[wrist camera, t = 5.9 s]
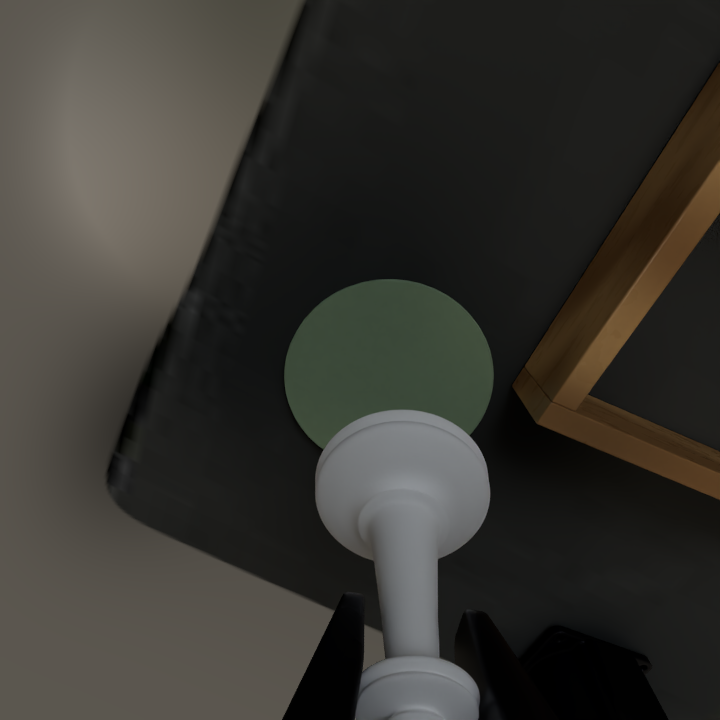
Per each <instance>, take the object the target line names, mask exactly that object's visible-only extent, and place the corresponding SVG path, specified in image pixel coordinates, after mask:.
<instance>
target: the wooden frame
mask: <svg viewBox="0 0 720 720" xmlns="http://www.w3.org/2000/svg"><path fill="white" fill-rule="evenodd" d="M719 213H720V63H719V64H718V66H717V67H716V69H715V70H714V72H713V73H712V75H711V77H710V78H709V80H708V81H707V83H706V84H705V86H704V87H703V89H702V91H701V92H700V94H699V95H698V97H697V98H696V100H695V101H694V103H693V105H692V106H691V108H690V109H689V111H688V112H687V114H686V115H685V117H684V119H683V120H682V122H681V123H680V125H679V126H678V128H677V129H676V131H675V133H674V134H673V136H672V137H671V139H670V140H669V142H668V144H667V145H666V147H665V148H664V150H663V151H662V153H661V154H660V156H659V158H658V159H657V161H656V162H655V164H654V165H653V167H652V168H651V170H650V172H649V173H648V175H647V176H646V178H645V179H644V181H643V182H642V184H641V186H640V187H639V189H638V190H637V192H636V193H635V195H634V196H633V198H632V200H631V201H630V203H629V204H628V206H627V207H626V209H625V210H624V212H623V214H622V215H621V217H620V218H619V220H618V221H617V223H616V224H615V226H614V228H613V229H612V231H611V232H610V234H609V235H608V237H607V239H606V240H605V242H604V243H603V245H602V246H601V248H600V249H599V251H598V253H597V254H596V256H595V257H594V259H593V260H592V262H591V263H590V265H589V267H588V268H587V270H586V271H585V273H584V274H583V276H582V277H581V279H580V281H579V282H578V284H577V285H576V287H575V288H574V290H573V291H572V293H571V295H570V296H569V298H568V299H567V301H566V302H565V304H564V305H563V307H562V309H561V310H560V312H559V313H558V315H557V316H556V318H555V320H554V321H553V323H552V324H551V326H550V327H549V329H548V330H547V332H546V334H545V335H544V337H543V338H542V340H541V341H540V343H539V344H538V346H537V348H536V349H535V351H534V352H533V354H532V355H531V357H530V358H529V360H528V362H527V363H526V365H525V368H523V369H522V371H521V372H520V374H519V375H518V377H517V378H516V380H515V381H514V383H513V385H512V387H513V388H514V390H515V391H516V393H517V395H518V396H519V398H520V399H521V401H522V402H523V404H524V405H525V407H526V408H527V410H528V411H529V413H530V414H531V416H532V418H533V419H534V421H535V422H536V424H538V425H541V426H543V427H545V428H548V429H550V430H553V431H555V432H557V433H560V434H562V435H565V436H567V437H570V438H572V439H574V440H577V441H579V442H582V443H584V444H586V445H589V446H591V447H594V448H596V449H598V450H601V451H603V452H606V453H608V454H610V455H613V456H615V457H618V458H620V459H623V460H625V461H627V462H630V463H632V464H635V465H637V466H639V467H642V468H644V469H647V470H649V471H651V472H654V473H656V474H659V475H661V476H663V477H666V478H668V479H671V480H673V481H676V482H678V483H680V484H683V485H685V486H688V487H690V488H692V489H695V490H697V491H700V492H702V493H704V494H707V495H709V496H712V497H714V498H716V499H719V500H720V451H717V450H715V449H713V448H710V447H708V446H706V445H703V444H701V443H699V442H696V441H694V440H692V439H689V438H687V437H685V436H683V435H680V434H678V433H676V432H673V431H671V430H669V429H666V428H664V427H662V426H659V425H657V424H655V423H652V422H650V421H648V420H645V419H643V418H641V417H638V416H636V415H634V414H631V413H629V412H627V411H625V410H622V409H620V408H618V407H615V406H613V405H611V404H608V403H606V402H604V401H601V400H599V399H597V398H594V397H592V396H590V395H587V394H588V393H589V392H590V390H591V389H592V387H593V386H594V385H595V383H596V382H597V381H598V379H599V378H600V376H601V375H602V374H603V372H604V371H605V370H606V368H607V367H608V366H609V364H610V363H611V361H612V360H613V359H614V357H615V356H616V355H617V353H618V352H619V350H620V349H621V348H622V346H623V345H624V344H625V342H626V341H627V339H628V338H629V337H630V335H631V334H632V333H633V331H634V330H635V328H636V327H637V326H638V324H639V323H640V322H641V320H642V319H643V317H644V316H645V315H646V313H647V312H648V311H649V309H650V308H651V307H652V305H653V304H654V302H655V301H656V300H657V298H658V297H659V296H660V294H661V293H662V291H663V290H664V289H665V287H666V286H667V285H668V283H669V282H670V280H671V279H672V278H673V276H674V275H675V274H676V272H677V271H678V269H679V268H680V267H681V265H682V264H683V263H684V261H685V260H686V258H687V257H688V256H689V254H690V253H691V252H692V250H693V249H694V248H695V246H696V245H697V243H698V242H699V241H700V239H701V238H702V237H703V235H704V234H705V232H706V231H707V230H708V228H709V227H710V226H711V224H712V223H713V221H714V220H715V219H716V217H717V216H718V215H719Z"/></svg>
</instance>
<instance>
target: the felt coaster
mask: <svg viewBox="0 0 720 720" xmlns="http://www.w3.org/2000/svg"><path fill="white" fill-rule="evenodd" d="M493 378H494V371H493V361H492V356H491V352H490V348H489V346H488V343H487V341H486V338H485V336H484V334H483V333H482V331H481V329H480V327H479V326H478V324H477V323H476V322H475V320H474V319H473V318H472V316H471V315H470V314H469V313H468V312H467V311H466V310H465V309H464V308H463V307H462V306H461V305H460V304H459V303H457V302H456V301H455V300H453V299H452V298H451V297H449V296H448V295H446V294H444V293H442V292H440V291H438V290H437V289H435V288H432V287H429V286H426V285H424V284H421V283H416V282H412V281H407V280H397V279H381V280H372V281H367V282H362V283H358V284H355V285H352V286H349V287H347V288H345V289H342V290H340V291H338V292H336V293H334V294H333V295H331V296H330V297H328V298H326V299H325V300H323V301H322V302H321V303H320V304H319V305H318V306H316V307H315V308H314V309H313V310H312V311H311V312H310V313H309V314H308V316H307V317H306V318H305V319H304V320H303V322H302V323H301V325H300V326H299V328H298V329H297V331H296V333H295V335H294V337H293V339H292V341H291V343H290V346H289V349H288V353H287V356H286V362H285V368H284V383H285V391H286V396H287V399H288V403H289V406H290V408H291V410H292V413H293V415H294V417H295V419H296V420H297V422H298V423H299V425H300V427H301V428H302V429H303V430H304V432H305V433H306V434H307V435H308V437H310V438H311V439H312V440H313V441H314V442H315V443H316V444H317V445H318V446H319V447H321V448H322V449H323V450H324V448H325V447H326V445H327V444H328V443H329V441H330V440H331V439H332V438H333V437H334V436H335V435H336V434H337V433H338V432H339V431H340V430H342V429H343V428H344V427H346V426H347V425H349V424H350V423H352V422H354V421H356V420H357V419H360V418H362V417H365V416H367V415H370V414H373V413H377V412H382V411H388V410H416V411H422V412H426V413H430V414H434V415H437V416H439V417H442V418H444V419H446V420H448V421H450V422H452V423H453V424H455V425H457V426H458V427H459V428H461V429H462V430H463V431H465V432H466V433H467V434H468V435H470V434H471V433H472V432H473V431H474V429H475V428H476V427H477V425H478V424H479V423H480V421H481V419H482V417H483V415H484V413H485V412H486V409H487V406H488V404H489V401H490V398H491V393H492V389H493Z"/></svg>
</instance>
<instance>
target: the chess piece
mask: <svg viewBox="0 0 720 720" xmlns="http://www.w3.org/2000/svg"><path fill="white" fill-rule="evenodd" d="M315 485H316V488H315V498H316V505H317V509H318V512H319V515H320V517H321V520H322V522H323V523H324V525H325V527H326V528H327V530H328V531H329V532H330V534H331V535H332V536H333V537H334V538H335V539H336V540H337V541H338V542H339V543H341V544H342V545H343V546H344V547H346V548H347V549H349V550H350V551H352V552H354V553H356V554H358V555H360V556H362V557H364V558H367V559H370V560H373V561H374V565H375V572H376V580H377V587H378V595H379V603H380V611H381V619H382V630H383V639H384V649H385V658H386V659H384V660H382V661H379V662H377V663H375V664H373V665H371V666H370V667H368V668H367V669H366V670H364V671H363V672H362V676H361V683H360V689H359V695H358V701H357V708H356V714H355V717H356V720H478V718H479V708H478V707H479V704H480V693H479V689H478V687H477V685H476V683H475V681H474V680H473V679H472V677H471V676H470V675H469V674H468V673H467V672H466V671H464V670H463V669H462V668H460V667H458V666H457V665H455V664H453V663H451V662H449V661H446V660H443V659H440V658H439V630H438V559H439V558H441V557H444V556H446V555H448V554H450V553H452V552H454V551H456V550H457V549H459V548H460V547H461V546H463V545H464V544H465V543H466V542H468V541H469V540H470V539H471V538H472V537H473V535H474V534H475V533H476V532H477V531H478V529H479V528H480V526H481V525H482V523H483V521H484V519H485V517H486V514H487V511H488V507H489V502H490V485H489V480H488V470H487V466H486V462H485V459H484V457H483V455H482V453H481V451H480V449H479V447H478V446H477V445H476V443H475V442H474V441H473V439H472V438H471V437H470V436H469V435H468V434H467V433H466V432H465V431H463V430H462V429H461V428H459V427H458V426H457V425H455V424H453V423H452V422H450V421H448V420H446V419H444V418H442V417H439V416H437V415H434V414H430V413H426V412H422V411H416V410H388V411H382V412H377V413H373V414H370V415H367V416H365V417H362V418H360V419H357V420H356V421H354V422H352V423H350V424H349V425H347V426H346V427H344V428H343V429H342V430H340V431H339V432H338V433H337V434H336V435H335V436H334V437H333V438H332V439H331V440H330V441H329V443H328V444H327V445H326V447H325V448H324V450H323V452H322V454H321V456H320V458H319V461H318V464H317V468H316V475H315Z"/></svg>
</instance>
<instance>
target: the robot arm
mask: <svg viewBox="0 0 720 720" xmlns="http://www.w3.org/2000/svg"><path fill="white" fill-rule="evenodd" d="M363 660H364V596H363V595H362V594H359V593H352V592H345V593H344V594H343V596H342V598H341V600H340V602H339V604H338V606H337V608H336V610H335V612H334V614H333V616H332V618H331V621H330V622H329V624H328V626H327V629H326V631H325V633H324V635H323V637H322V639H321V641H320V643H319V645H318V647H317V649H316V651H315V653H314V655H313V657H312V659H311V661H310V663H309V665H308V668H307V670H306V672H305V674H304V676H303V678H302V680H301V682H300V684H299V686H298V688H297V690H296V692H295V694H294V696H293V698H292V700H291V703H290V704H289V707H288V709H287V711H286V713H285V715H284V717H283V719H282V720H355V714H356V708H357V701H358V695H359V689H360V683H361V676H362V669H363ZM455 664H456V665H457V666H458V667H460V668H462V669H463V670H464V671H466V672H467V673H468V674H469V675H470V676H471V677H472V679H473V680H474V681H475V683H476V685H477V687H478V689H479V693H480V704H479V707H478V708H479V718H478V720H668V718H667V716H666V714H665V712H664V710H663V709H662V707H661V705H660V703H659V701H658V699H657V697H656V696H655V694H654V692H653V690H652V688H651V686H650V684H649V683H648V681H647V679H646V677H645V675H646V674H647V673H648V672H649V671H650V670H651V669H652V665H651V663H650V661H649V660H648V658H647V657H646V656H644V655H642V654H639V653H636V652H633V651H630V650H628V649H625V648H622V647H619V646H616V645H613V644H611V643H608V642H605V641H602V640H599V639H597V638H594V637H591V636H588V635H585V634H582V633H580V632H577V631H574V630H571V629H568V628H565V627H563V626H554V627H552V628H550V629H549V630H548V631H547V632H546V633H545V635H544V636H543V637H542V638H541V639H540V640H539V641H538V642H537V643H536V644H535V645H534V647H533V648H532V649H531V650H530V651H529V652H528V653H527V654H526V655H525V656H524V657H523V658H522V660H521V661H520V662H519V660H518V659H517V657H516V656H515V654H514V653H513V651H512V650H511V648H510V647H509V645H508V644H507V642H506V641H505V640H504V638H503V637H502V635H501V634H500V632H499V631H498V629H497V628H496V626H495V625H494V623H493V622H492V620H491V619H490V617H489V616H488V615H487V614H486V613H485V612H482V611H476V610H469V609H468V610H465V611H464V613H463V616H462V619H461V621H460V624H459V627H458V630H457V633H456V636H455Z"/></svg>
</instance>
